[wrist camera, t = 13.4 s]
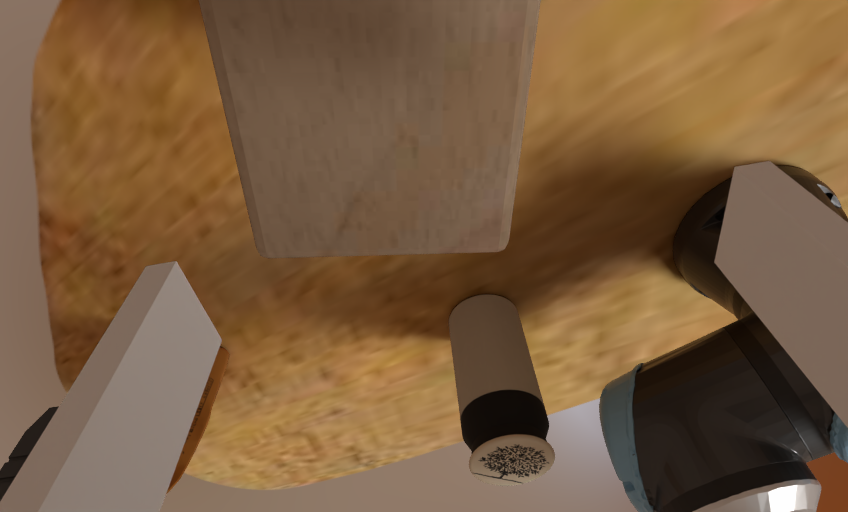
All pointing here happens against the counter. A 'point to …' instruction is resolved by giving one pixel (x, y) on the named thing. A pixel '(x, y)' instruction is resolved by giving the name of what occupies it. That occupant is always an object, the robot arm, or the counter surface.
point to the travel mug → (498, 393)
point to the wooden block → (375, 120)
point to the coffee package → (201, 414)
